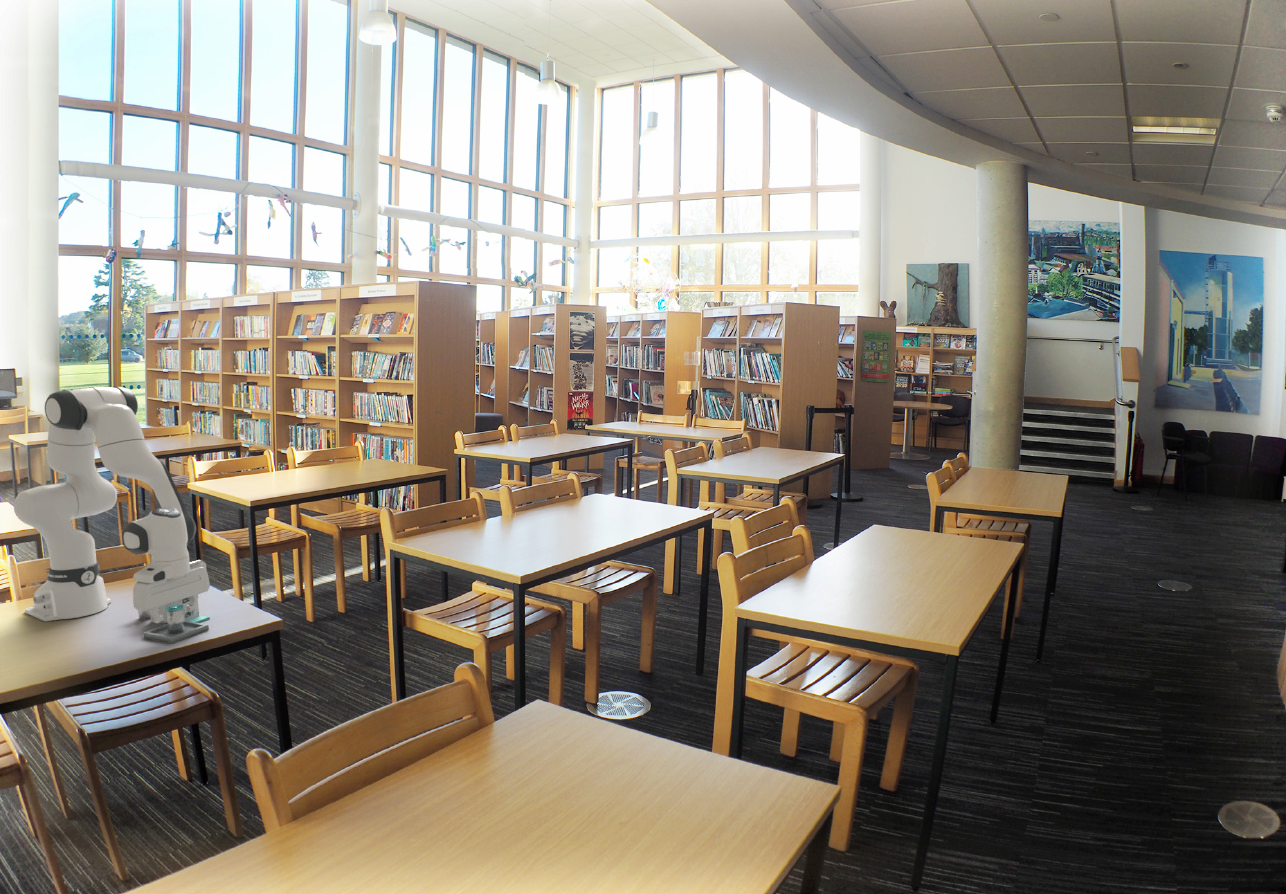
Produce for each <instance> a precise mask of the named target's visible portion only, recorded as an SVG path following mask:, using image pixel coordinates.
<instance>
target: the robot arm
mask: <svg viewBox="0 0 1286 894" xmlns="http://www.w3.org/2000/svg"><path fill="white" fill-rule="evenodd" d="M138 406H139V405H138V399H137V397H136V396H135V394H134V392H133V391H131V390H130V389H129V388H127V387H122V386H111V387H110V386H109V387H108V386H91V387H90V386H89V387H86V388H85V387H84V388H76V389H70V390H68V389H67V390H66V389H64V390H59V391H56V392H53V393H51V394H49V395H48V396H47V398H46V401H45V402H44V413H45V416H46V419H47V421H48V422H49V426H48V432H47V433H48V435H47V445H46V447H47V448H46V463H47V465H48V466H49V467H50V470H51V469H52V470H53V471H54V472H57V473H58V474H62V475H65V476H66V480H65V481H64V482H59V483H53V484H46V485H39V486H34V487H32V488H29V489H26V490H23V491H20V492H18V495H16V497H15V499H14V502H13V511H14V513H15V516H16V517H17V519H18V520H20V521H21V522H22V523H24V524H25V525H28V526H30V527H33V529H35V530H36V531H37V532H38V533H40V535H41V537H42V538H43V539H44V541H45V543H46V547H47V552H48V557H49V565H50V567H49V568H46V569H45V573H47V578H46V581H45V582H44V583H43V584H42V585H41V586H39V588H38V589H37V590H36V591H35V592H34V594H33V598H32V599H33V604H34V605H31V606H29V607H26V608H25V610H24V613H25V614H26V615H30V616H31V617H34V618H36V619H38V620H40V621H43V622H52V621H56V620H57V621H58V620H68V619H75V618H82V617H87V616H90V615H93V614H97V613H99V612H102V611H104V610H106V609H107V608H108V605H109V604H110V603H111V602H112V600H111V598H109V597H108V596H107V591H106V587H105V583H104V582H105V581H104V578H103V577H102V576H100V564H99V562H98V561H97V555H96V553H97V552H96V542H95V538H94V537H93V536H92V535H91V534H90V533H88V532H86V531H84V530H80V529H76V528H75V527H74V525H73V523H72V521H73V520H75V519H80V518H85V517H91V516H96V515H99V514H102V513H104V512H108V511H109V510H111V509H113V508H114V506H115V505H116V503H117V500H118V494H117V493H118V492H117V490H116V487H115V486H114V484H112V483H111V482H110V480H108V479H106V478H104V477H102V475H101V474H100V472H98V469H97V467H96V463H95V461H96V460H95V454H96V453H95V452H96V451H95V450H96V448H95V447H97V450H98V454H99V458H100V460H101V462H102V465H103V466H104V468H105V469H106V470H107V471H109V472H111V473H112V474H114V475H116V476H119V477H124V478H127V479H133V480H137V481H141V482H143V483H145V484H147V485H148V486H149V487H151V489H152V490H153V493H154V494H155V497H156V499H157V502H158V503H159V505H160V507H159V508H155V509H153V510H151V511H150V512H149V514H147V515H146V516H144V517H142V518H139V519H135V520H132V521H130V522H128V523H127V524H126V525H125V526H124V528H123V531H122V535H121V537H122V540H121V541H122V544H123V547H124V548H125V549H126V550H127V551H128V552H129V553H131V554H133V555H147V554H150V555H151V559H150V560H151V561H150V563H149V564H147V565H146V566H144V567H142V568H141V569H139V570H138V571H136V572H135V573H134V574H133V581H134V582H136V583H135V584H134V586H133V588H132V602H133V603H132V604H133V607H134V609H135V610H137V612H138V611H144V612H145V611H149V612H150V613H151V615H152V616H153V617H154V622H153V623H154V624H160V622H163V621H164V619H163V615H159V614H158V612H157V611H159V607H161V606H164V605H167V604H170V603H173V602H176V601H179V600H182V599H185V598H190V601H189V604H188V605H186V611H187V612H192V611H195V604H196V602H197V599H198V600H199V595H200V594H203V593H206V592H208V591H209V590H210V579H209V575H208V571H207V564H206V562H205V561H203V560H201V559H198V560H195V561H190V553H189V551H188V548H187V547H188V545H189V544H190V543H191V542H192V540H193V539H194V538H195V535H196V532H197V525H196V522H195V520H194V518H193V517H192V515H191V514H190V512H189V511H188V509H187V508H186V506H185V504H184V501H183V499H182V497H181V495H180V493H179V491H178V488H177V487H176V486H177V485H176V484H175V482H174V479H173V478H172V476H171V473H170V471H169V469H168V468H167V466H166V465H165V463H164V462H163V461H162V460H161V459H160V458H157V457H156V456H155V455H154V454H153V453H152V451H151V450H150V448H149V446H148V444H147V443H146V442H147V441H146V440H145V439H146V438H145V435H144V432H143V429H142V427H141V425H140V423H139V420H138V418H137V416H136V415H137V413H138V409H139V407H138Z"/></svg>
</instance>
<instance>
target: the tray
mask: <svg viewBox="0 0 1286 894" xmlns="http://www.w3.org/2000/svg"><path fill="white" fill-rule="evenodd" d="M184 623H185V631H184V632H182V633H179V634H168V625H167V623H165V624H164V625H160V626H157V627H156V628H153V629H150V630H149V629H148V630H147V631H145V632H143V633H142V634H143V639H148V640H152V641H155V642H156V641H158V642H161V643H167V644H171V645H173V644H176V643H178V642H181V641H183V640H186V639H188V638H190V637H193V636H197V635H199V634H201V633H203V632H207V631H208V630H210V628H209V624H208V623H202V622H200V623H197V622H191V621H186V620H184Z"/></svg>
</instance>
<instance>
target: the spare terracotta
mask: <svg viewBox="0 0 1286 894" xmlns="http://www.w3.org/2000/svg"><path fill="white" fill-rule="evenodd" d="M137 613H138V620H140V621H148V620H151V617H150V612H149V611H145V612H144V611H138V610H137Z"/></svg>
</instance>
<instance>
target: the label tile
mask: <svg viewBox="0 0 1286 894" xmlns="http://www.w3.org/2000/svg"><path fill="white" fill-rule="evenodd" d="M210 619H211V617H210V616H208V615H199V616H198V617H196V618H194V619H191V620H188V621H191V622H197V623H202V622H205V621H208V620H210Z"/></svg>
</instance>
